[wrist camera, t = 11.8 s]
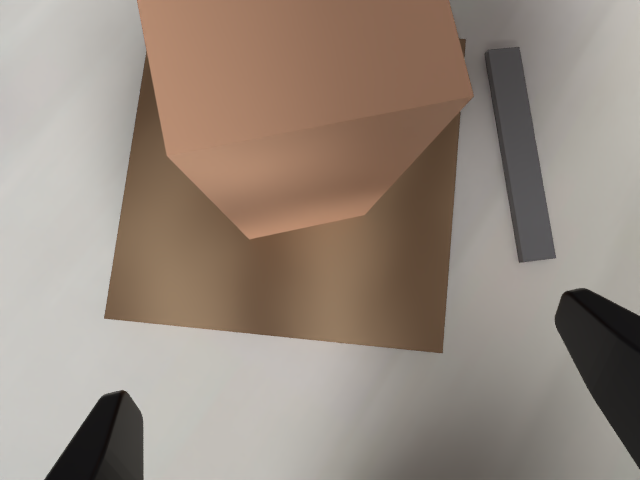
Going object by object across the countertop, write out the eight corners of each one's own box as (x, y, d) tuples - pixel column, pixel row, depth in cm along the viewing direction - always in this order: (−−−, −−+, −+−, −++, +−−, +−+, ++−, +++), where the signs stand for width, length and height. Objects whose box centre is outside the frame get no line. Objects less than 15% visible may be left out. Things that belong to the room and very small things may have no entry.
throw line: (484, 54, 21) (488, 49, 21) (515, 51, 21) (519, 47, 21) (519, 262, 20) (523, 261, 20) (551, 258, 20) (556, 258, 20)
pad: (458, 51, 21) (465, 39, 20) (435, 350, 20) (442, 353, 19) (161, 12, 21) (154, -2, 20) (114, 316, 19) (104, 318, 18)
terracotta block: (364, 215, 19) (473, 96, 7) (249, 239, 19) (166, 155, 7) (338, 104, 20) (403, -177, 8) (226, 126, 19) (111, -133, 7)
